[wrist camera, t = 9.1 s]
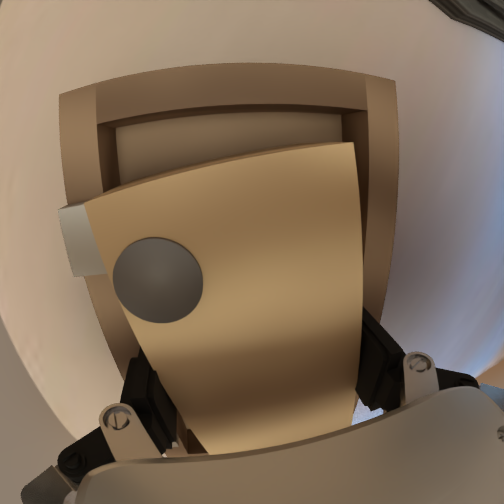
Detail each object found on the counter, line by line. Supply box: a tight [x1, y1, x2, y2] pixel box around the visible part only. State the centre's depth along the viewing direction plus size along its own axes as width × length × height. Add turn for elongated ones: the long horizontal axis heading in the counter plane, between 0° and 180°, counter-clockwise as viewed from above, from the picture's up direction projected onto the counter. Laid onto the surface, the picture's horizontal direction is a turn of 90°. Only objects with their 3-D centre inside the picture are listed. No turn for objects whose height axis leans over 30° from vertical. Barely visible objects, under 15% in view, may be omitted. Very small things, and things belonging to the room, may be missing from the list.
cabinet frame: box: [58, 63, 399, 457], centre depth 12 cm, size 22×12×4 cm, turn 3°
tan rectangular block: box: [84, 142, 363, 455], centre depth 11 cm, size 16×7×4 cm, turn 11°
